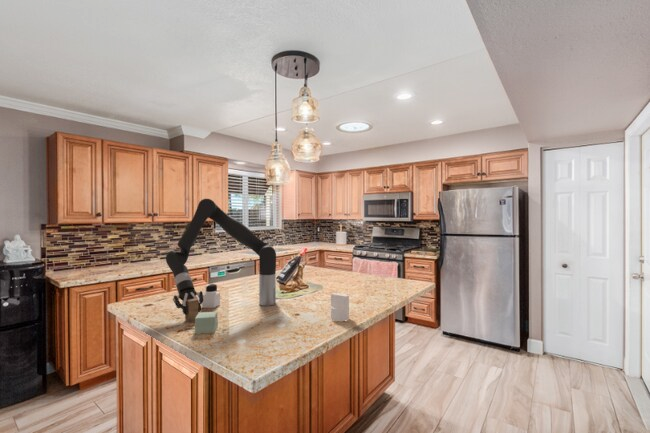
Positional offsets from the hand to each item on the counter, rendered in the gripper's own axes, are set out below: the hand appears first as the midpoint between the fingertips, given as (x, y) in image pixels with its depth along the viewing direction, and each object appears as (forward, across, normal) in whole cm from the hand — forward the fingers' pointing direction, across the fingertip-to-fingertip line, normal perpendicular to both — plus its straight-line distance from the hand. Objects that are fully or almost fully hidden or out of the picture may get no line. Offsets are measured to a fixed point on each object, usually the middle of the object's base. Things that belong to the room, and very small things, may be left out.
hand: (193, 312), depth 149 cm
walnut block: (+2, 0, +4) cm, 5 cm away
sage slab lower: (+14, 0, -7) cm, 16 cm away
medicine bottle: (-10, +17, +17) cm, 26 cm away
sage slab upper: (+11, 0, -10) cm, 15 cm away
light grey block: (+35, +54, -29) cm, 70 cm away
